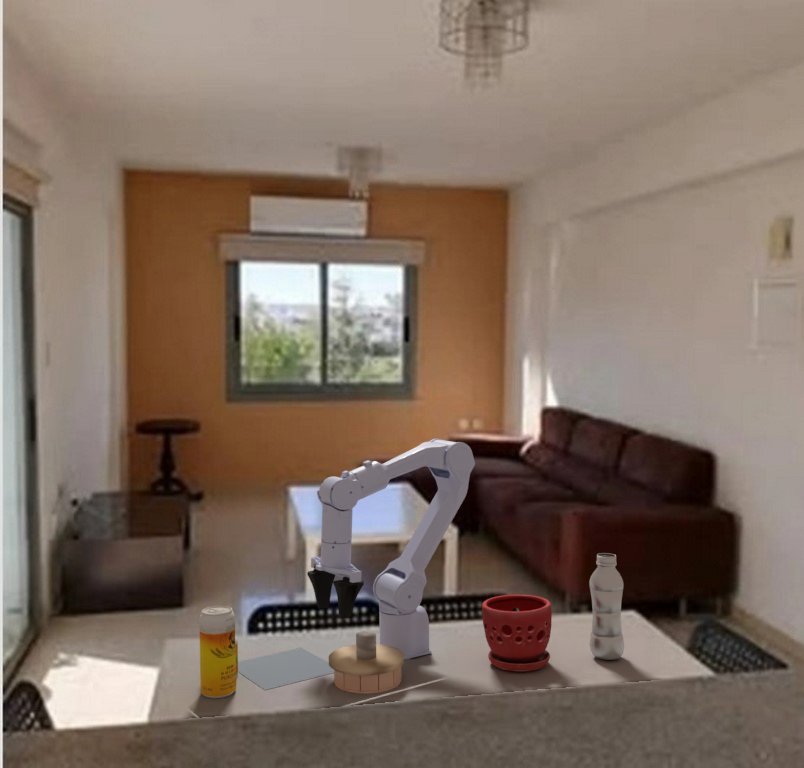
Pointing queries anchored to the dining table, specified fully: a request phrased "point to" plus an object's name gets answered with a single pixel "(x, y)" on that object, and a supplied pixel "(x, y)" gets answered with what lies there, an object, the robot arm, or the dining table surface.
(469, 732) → the dining table surface
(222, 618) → the beer can
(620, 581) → the plastic bottle
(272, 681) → the mat
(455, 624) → the dining table surface
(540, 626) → the plant pot
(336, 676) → the bowl
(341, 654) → the lid
